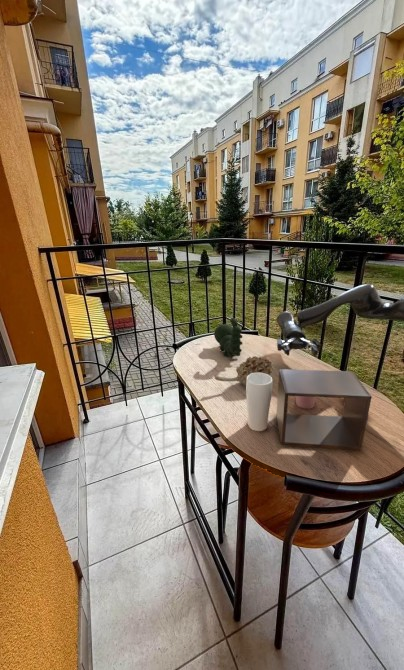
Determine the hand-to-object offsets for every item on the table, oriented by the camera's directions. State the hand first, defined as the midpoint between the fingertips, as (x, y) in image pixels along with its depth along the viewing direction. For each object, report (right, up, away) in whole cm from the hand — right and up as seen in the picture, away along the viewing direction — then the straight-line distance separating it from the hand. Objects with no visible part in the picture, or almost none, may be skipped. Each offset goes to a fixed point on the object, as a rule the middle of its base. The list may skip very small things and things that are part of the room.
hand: (301, 353), depth 93 cm
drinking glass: (-18, -20, -15) cm, 30 cm away
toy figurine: (-21, -2, +34) cm, 40 cm away
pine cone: (-18, -12, +6) cm, 23 cm away
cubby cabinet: (-3, -20, -18) cm, 27 cm away
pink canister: (-1, -15, -6) cm, 16 cm away
